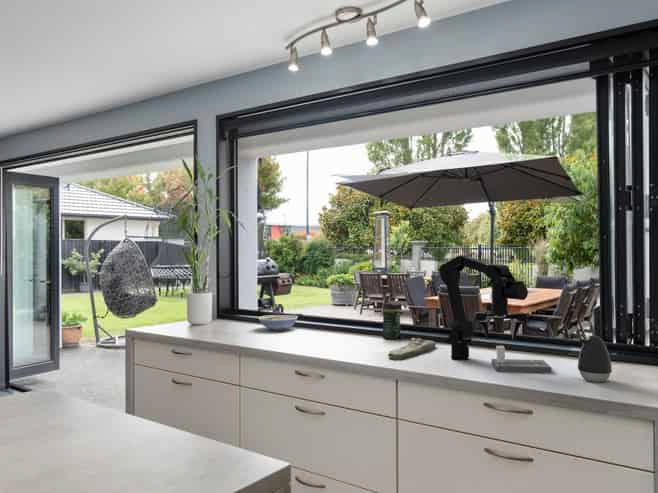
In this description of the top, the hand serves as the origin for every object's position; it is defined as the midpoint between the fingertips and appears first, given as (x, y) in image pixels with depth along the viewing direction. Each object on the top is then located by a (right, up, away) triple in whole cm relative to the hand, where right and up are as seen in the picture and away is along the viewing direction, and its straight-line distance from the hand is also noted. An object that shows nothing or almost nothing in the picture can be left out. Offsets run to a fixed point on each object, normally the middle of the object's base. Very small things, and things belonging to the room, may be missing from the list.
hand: (500, 339), depth 190 cm
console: (+7, -11, -1) cm, 13 cm away
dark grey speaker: (+25, -10, -20) cm, 34 cm away
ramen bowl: (-94, -13, +99) cm, 137 cm away
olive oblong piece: (-28, -12, +30) cm, 43 cm away
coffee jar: (-33, -12, +67) cm, 75 cm away
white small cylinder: (0, -8, 0) cm, 8 cm away
